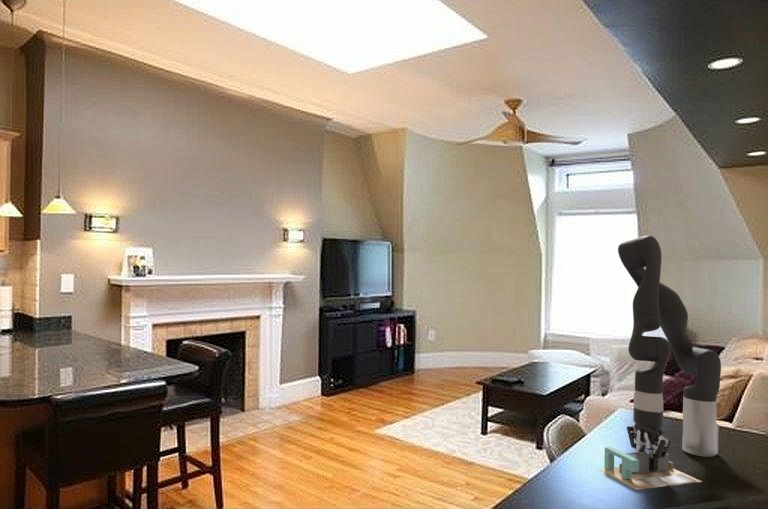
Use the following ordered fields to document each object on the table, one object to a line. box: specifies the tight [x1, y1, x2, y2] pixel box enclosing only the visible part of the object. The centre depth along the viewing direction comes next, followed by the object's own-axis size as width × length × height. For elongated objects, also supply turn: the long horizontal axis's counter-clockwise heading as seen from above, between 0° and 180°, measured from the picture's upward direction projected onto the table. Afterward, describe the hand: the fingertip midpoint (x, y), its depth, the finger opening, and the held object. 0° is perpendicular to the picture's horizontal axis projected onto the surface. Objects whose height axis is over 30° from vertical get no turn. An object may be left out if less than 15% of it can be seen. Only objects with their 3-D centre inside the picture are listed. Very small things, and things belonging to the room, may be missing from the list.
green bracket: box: [603, 446, 639, 479], centre depth 143 cm, size 2×10×6 cm, turn 18°
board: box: [598, 460, 703, 491], centre depth 144 cm, size 22×14×3 cm, turn 108°
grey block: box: [625, 450, 670, 474], centre depth 147 cm, size 12×4×4 cm, turn 108°
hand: (647, 468), depth 147 cm, fingers closed on grey block, 3 cm apart
